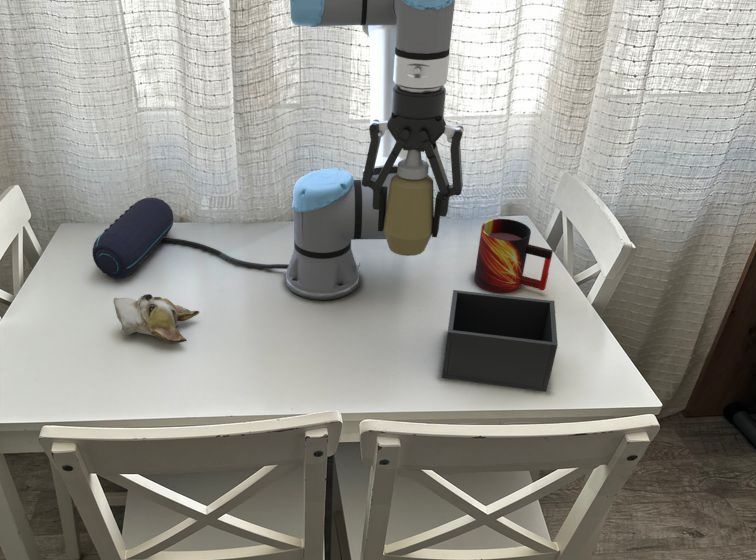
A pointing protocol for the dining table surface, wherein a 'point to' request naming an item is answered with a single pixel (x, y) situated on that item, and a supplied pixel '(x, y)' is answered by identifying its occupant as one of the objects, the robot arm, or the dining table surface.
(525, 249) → the mug
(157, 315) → the ceramic sculpture
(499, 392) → the dining table surface
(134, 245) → the portable speaker
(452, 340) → the bin
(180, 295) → the dining table surface
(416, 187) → the squeeze bottle
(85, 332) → the dining table surface
